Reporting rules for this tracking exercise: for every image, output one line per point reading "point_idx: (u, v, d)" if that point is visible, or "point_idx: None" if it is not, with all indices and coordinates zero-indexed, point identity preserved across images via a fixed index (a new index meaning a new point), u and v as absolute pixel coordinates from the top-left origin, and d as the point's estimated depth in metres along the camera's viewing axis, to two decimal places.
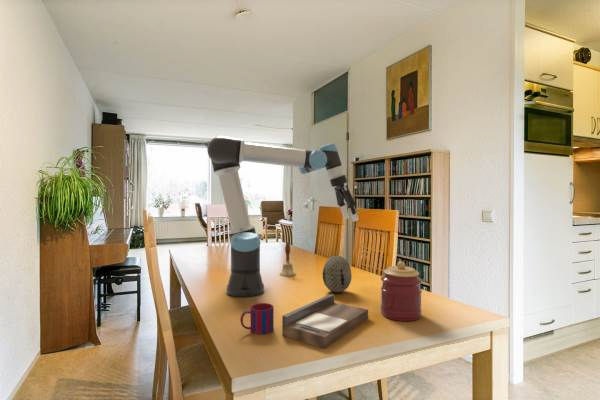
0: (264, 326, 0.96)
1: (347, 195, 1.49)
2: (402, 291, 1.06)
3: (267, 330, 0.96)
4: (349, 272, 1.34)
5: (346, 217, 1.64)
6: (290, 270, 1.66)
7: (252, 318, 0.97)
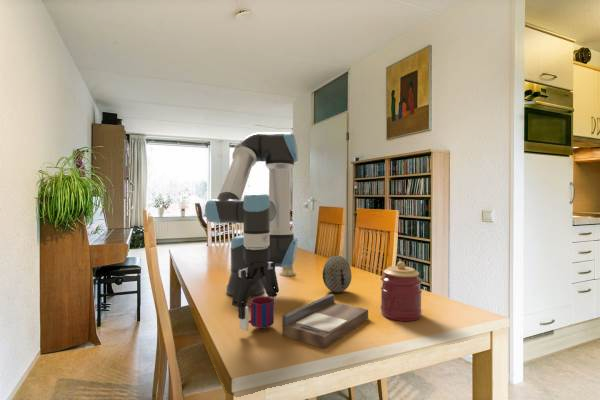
0: (264, 320, 0.96)
1: (237, 286, 0.93)
2: (402, 291, 1.06)
3: (267, 324, 0.97)
4: (349, 272, 1.34)
5: None
6: (290, 270, 1.66)
7: (252, 312, 0.97)
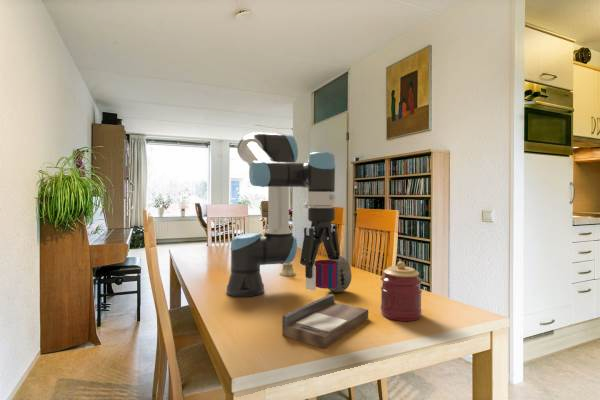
0: (330, 280, 0.94)
1: (305, 244, 0.91)
2: (402, 291, 1.06)
3: (333, 285, 0.94)
4: (349, 272, 1.34)
5: None
6: (290, 270, 1.66)
7: (317, 272, 0.95)
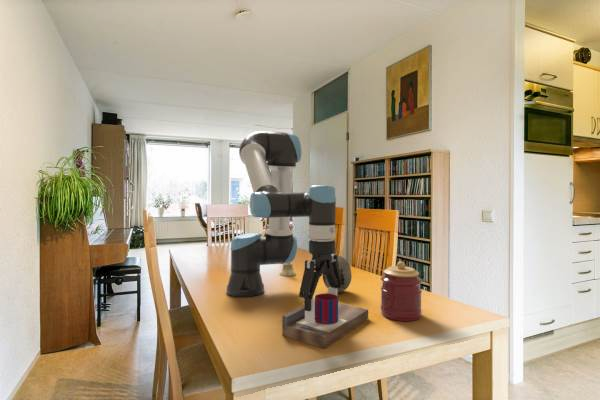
0: (331, 316, 0.94)
1: (304, 277, 0.90)
2: (402, 291, 1.06)
3: (333, 320, 0.95)
4: (349, 272, 1.34)
5: None
6: (290, 270, 1.66)
7: (318, 308, 0.95)
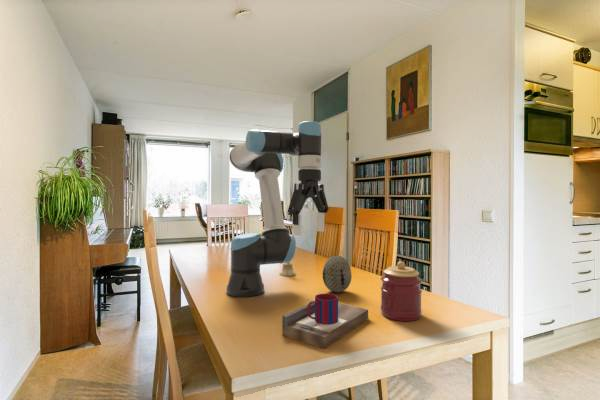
0: (331, 316, 0.94)
1: (293, 196, 1.06)
2: (402, 291, 1.06)
3: (333, 320, 0.95)
4: (349, 272, 1.34)
5: (319, 229, 1.17)
6: (290, 270, 1.66)
7: (318, 308, 0.95)
